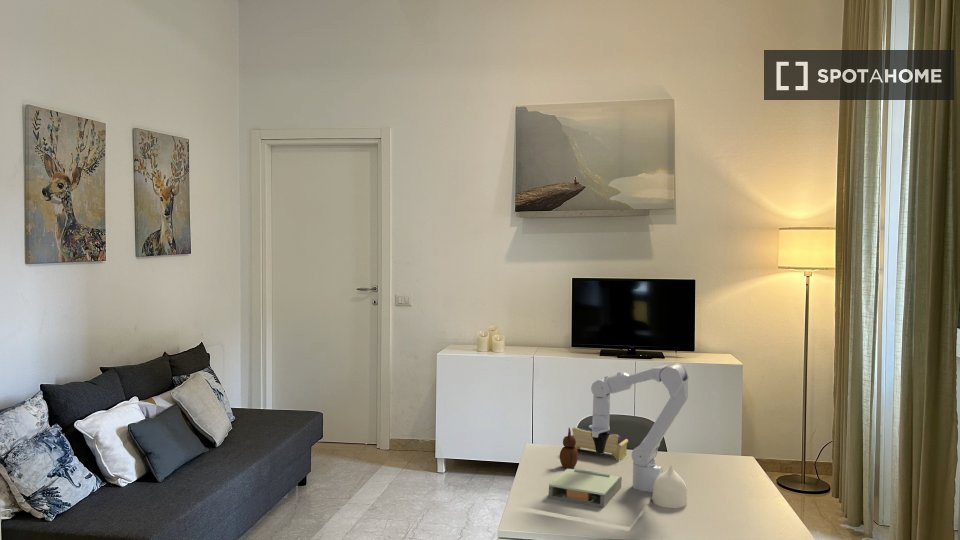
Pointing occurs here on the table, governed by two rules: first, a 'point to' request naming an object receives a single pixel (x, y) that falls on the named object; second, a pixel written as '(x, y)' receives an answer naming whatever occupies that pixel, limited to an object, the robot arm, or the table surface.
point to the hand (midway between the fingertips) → (599, 453)
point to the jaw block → (578, 495)
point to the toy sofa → (611, 445)
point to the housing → (595, 500)
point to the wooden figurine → (569, 452)
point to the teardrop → (670, 490)
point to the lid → (585, 481)
